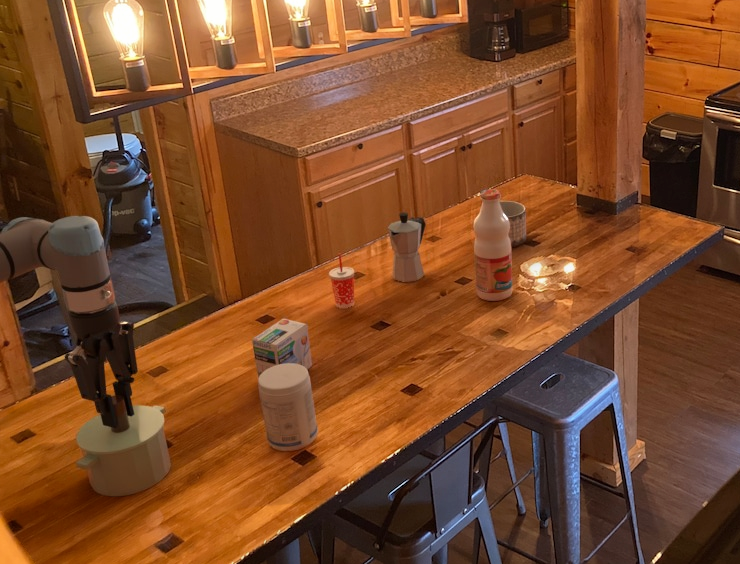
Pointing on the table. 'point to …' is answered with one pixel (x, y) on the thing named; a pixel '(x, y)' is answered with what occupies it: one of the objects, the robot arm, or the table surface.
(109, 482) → the pale green cooking pot
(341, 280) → the beverage cup
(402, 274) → the coffee maker
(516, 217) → the planter
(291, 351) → the light bulb box
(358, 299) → the table surface
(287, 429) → the supplement tub
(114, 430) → the green pot lid
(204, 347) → the table surface
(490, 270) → the fruit juice
